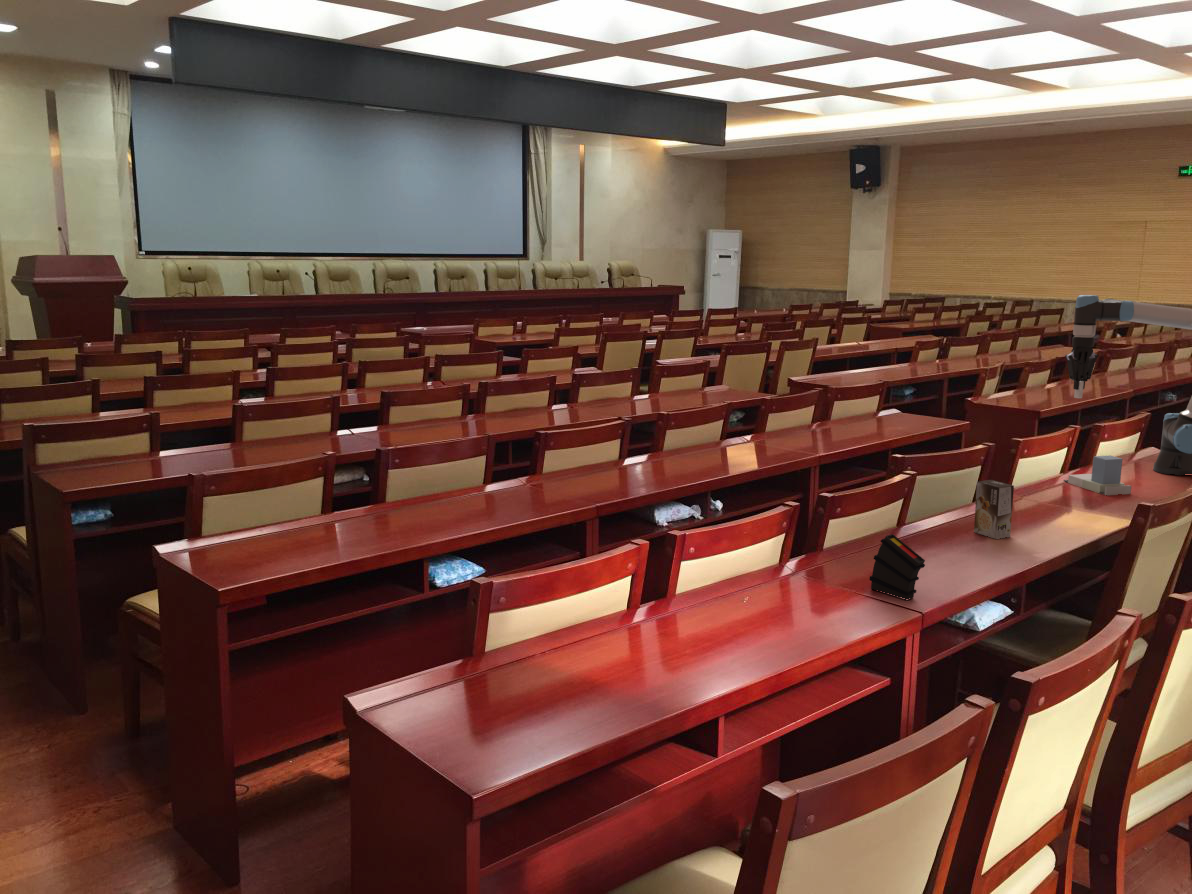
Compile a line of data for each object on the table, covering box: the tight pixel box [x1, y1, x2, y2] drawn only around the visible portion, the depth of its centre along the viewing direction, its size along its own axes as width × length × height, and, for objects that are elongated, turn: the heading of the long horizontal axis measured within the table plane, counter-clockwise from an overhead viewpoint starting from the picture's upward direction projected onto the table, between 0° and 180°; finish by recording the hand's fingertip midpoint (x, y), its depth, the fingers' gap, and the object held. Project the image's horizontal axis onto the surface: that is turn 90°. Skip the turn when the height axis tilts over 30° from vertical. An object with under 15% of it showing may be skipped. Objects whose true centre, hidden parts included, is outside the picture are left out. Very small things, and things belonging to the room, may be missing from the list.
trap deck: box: [1063, 473, 1132, 496], centre depth 350 cm, size 10×22×3 cm, turn 12°
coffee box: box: [973, 479, 1015, 540], centre depth 291 cm, size 9×6×16 cm
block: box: [1091, 454, 1123, 484], centre depth 344 cm, size 7×6×9 cm
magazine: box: [868, 533, 926, 599], centre depth 241 cm, size 4×13×15 cm, turn 39°
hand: (1078, 397), depth 368 cm, fingers closed
